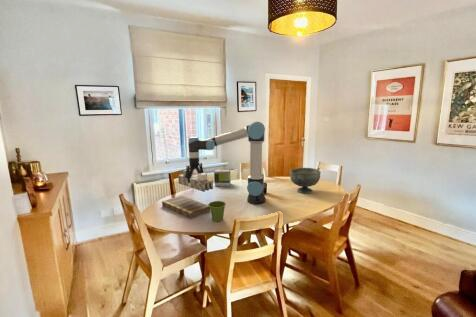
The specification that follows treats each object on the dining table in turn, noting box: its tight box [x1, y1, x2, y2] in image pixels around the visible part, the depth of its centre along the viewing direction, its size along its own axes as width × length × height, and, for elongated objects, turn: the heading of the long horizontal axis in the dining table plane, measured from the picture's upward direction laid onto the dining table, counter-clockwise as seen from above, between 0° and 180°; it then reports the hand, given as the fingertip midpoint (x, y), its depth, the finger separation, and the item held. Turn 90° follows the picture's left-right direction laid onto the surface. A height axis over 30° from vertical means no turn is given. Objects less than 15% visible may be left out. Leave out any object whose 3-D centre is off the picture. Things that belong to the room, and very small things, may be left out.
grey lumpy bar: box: [177, 173, 214, 193], centre depth 193 cm, size 32×9×7 cm, turn 47°
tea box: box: [213, 169, 231, 187], centre depth 249 cm, size 15×10×15 cm, turn 84°
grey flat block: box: [161, 195, 211, 220], centre depth 189 cm, size 36×18×4 cm, turn 48°
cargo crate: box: [197, 172, 208, 181], centre depth 186 cm, size 5×5×4 cm
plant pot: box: [207, 200, 227, 223], centre depth 168 cm, size 12×12×11 cm
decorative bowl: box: [289, 167, 321, 195], centre depth 224 cm, size 26×26×20 cm
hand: (195, 185), depth 194 cm, fingers closed on grey lumpy bar, 9 cm apart
